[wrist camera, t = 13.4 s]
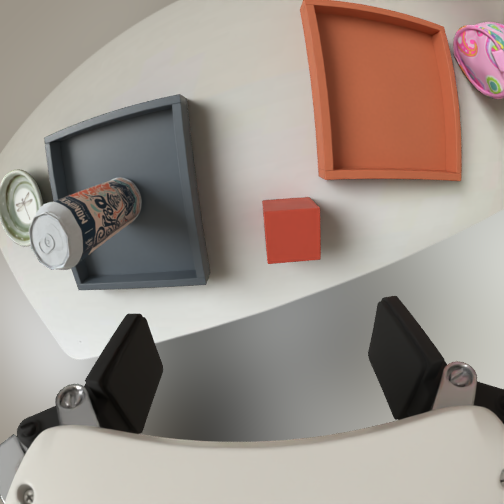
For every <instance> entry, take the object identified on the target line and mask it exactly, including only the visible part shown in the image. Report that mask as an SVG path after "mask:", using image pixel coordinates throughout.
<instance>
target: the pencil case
mask: <svg viewBox="0 0 504 504" xmlns="http://www.w3.org/2000/svg"><path fill="white" fill-rule="evenodd" d="M453 48H454V56H455V58H456V60H457V62H458V64H459V66H460V67H461V69H462V70H463V72H464V73H465V75H466V77H467V78H468V79H469V81H470V82H471V83H472V84H473V85H474V86H475V87H476V88H477V89H478V90H479V91H480V92H481V93H483V94H484V95H486V96H488V97H490V98H494V99H502V98H504V24H500V23H495V22H483V23H479V24H476V25H466V26H463V27H461V28H460V29H459V30H458V31H457V32H456V34H455V37H454V42H453Z"/></svg>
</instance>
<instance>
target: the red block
mask: <svg viewBox="0 0 504 504" xmlns="http://www.w3.org/2000/svg"><path fill="white" fill-rule="evenodd" d="M262 203H263V215H264V227H265V239H266V251H267V261H268V264H273V263H285V262H297V261H309V260H320V257H321V240H320V208H319V207H318V206H317V205H316V204H315V203H314V201H313V200H312V199H311V198H310V197H305V198H290V199H276V200H263V201H262Z"/></svg>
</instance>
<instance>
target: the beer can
mask: <svg viewBox="0 0 504 504" xmlns="http://www.w3.org/2000/svg"><path fill="white" fill-rule="evenodd" d="M141 203H142V200H141V195H140V192H139V190H138V188H137V187H136V185H135V184H134V183H133V182H131V181H130V180H128V179H125V178H115V179H112V180H110V181H108V182H105V183H102V184H99V185H96V186H94V187H91V188H88V189H85V190H82V191H80V192H77V193H74V194H72V195H69V196H67V197H64V198H62V199H59V200H57V201H54V202H48V203H46V204H44V205H43V206H41V207H40V208H39V210H38V211H37V213H36V215H35V216H34V218H33V220H32V223H31V225H30V228H29V237H30V244H31V248H32V250H33V252H34V253H35V255H36V257H37V259H38V260H39V262H40V263H42V264H43V265H45V266H46V267H48V268H49V269H51V270H54V269H60V270H68V269H71V268H72V267H74V266H76V265H77V264H78V263H79V262H81V261H82V260H83V259H84V258H85V257H87V256H88V255H89V254H90V253H92V252H93V251H94V250H96V249H97V248H98V247H99V246H101V245H102V244H103V243H105V242H106V241H107V240H108V239H110V238H111V237H112V236H114V235H115V234H116V233H118V232H119V231H120V230H122V229H123V228H125V227H126V226H127V225H129V224H130V223H131V222H133V221H134V220H135V219H136V218H137V216H138V215H139V213H140V210H141Z"/></svg>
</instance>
